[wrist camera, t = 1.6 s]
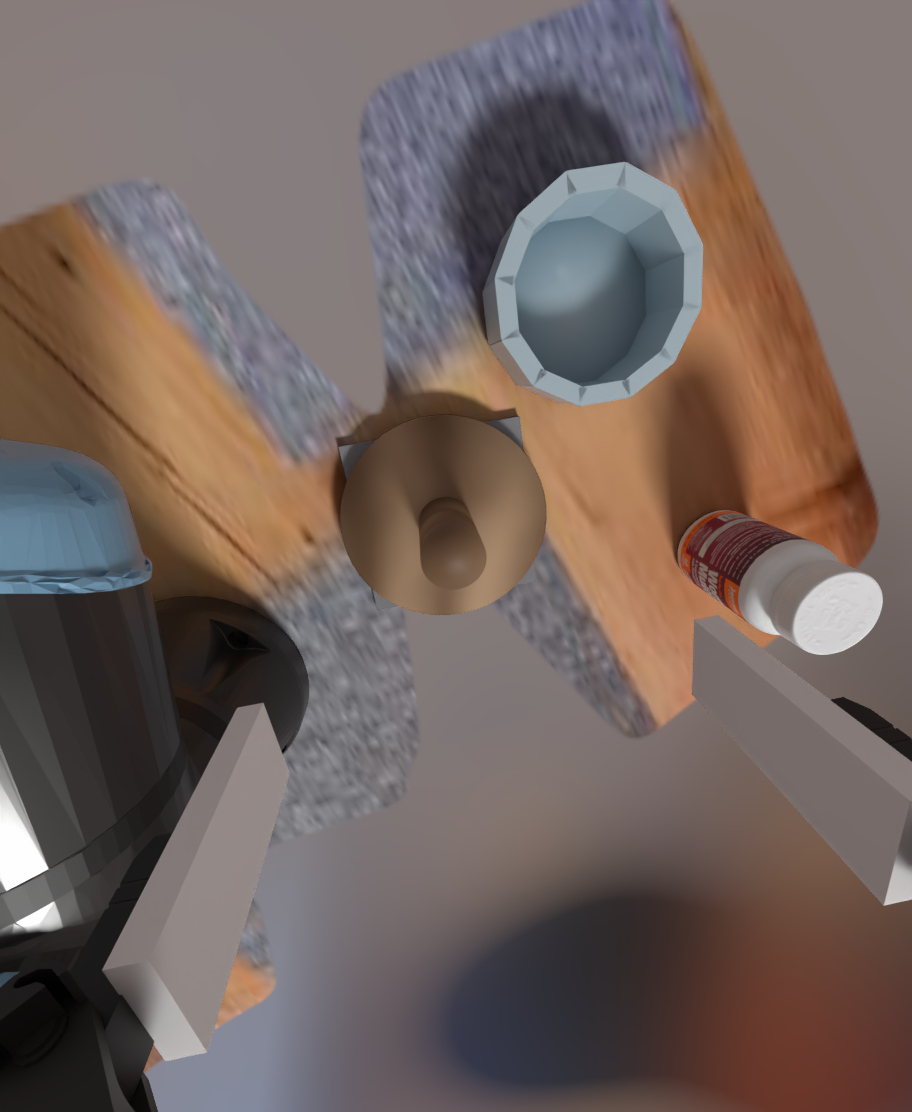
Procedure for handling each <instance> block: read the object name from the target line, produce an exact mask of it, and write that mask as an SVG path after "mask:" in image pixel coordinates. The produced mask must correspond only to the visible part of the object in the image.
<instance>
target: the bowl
mask: <svg viewBox="0 0 912 1112" xmlns="http://www.w3.org/2000/svg"><path fill="white" fill-rule="evenodd" d="M702 267H703V243H702V241H701V239H700V237H699V235H698V233H697V231H696V229H695V227H694V225H693V223H692V221H691V219H690V217H689V215H688V213H687V211H686V209H685V207H684V205H683V203H682V201H681V199H680V197H679V195H678V193H677V191H676V190H675V189H673V188H672V187H670V186H668V185H666V184H665V183H663V182H661V181H659V180H657V179H656V178H654V177H652V176H650V175H648V174H647V173H645V172H643V171H641V170H640V169H638V168H636V167H634V166H632V165H631V164H629V163H627V162H620V163H613V164H607V165H600V166H594V167H587V168H581V169H574V170H568V171H565V172H564V173H563V174H562V175H561V176H560V177H559V178H558V179H556V180H555V181H554V182H553V183H552V184H551V185H550V186H549V187H548V188H547V189H545V190H544V191H543V192H542V193H541V194H540V195H539V196H538V197H537V198H535V199H534V200H533V201H532V202H531V203H530V204H529V205H528V206H527V207H526V208H524V209H523V210H522V211H521V212H520V213H519V214H518V215H517V217H516V218H515V220H514V221H513V223H512V224H511V226H510V227H509V229H508V230H507V232H506V234H505V235H504V237H503V238H502V240H501V242H500V245H499V248H498V251H497V253H496V256H495V259H494V262H493V264H492V267H491V270H490V273H489V276H488V278H487V281H486V284H485V287H484V289H483V293H482V295H483V304H484V312H485V321H486V329H487V338H488V345H490V346H489V347H490V349H491V350H492V352H493V353H494V354H495V356H496V357H497V359H498V360H499V362H500V363H501V364H502V366H503V367H504V369H505V370H506V372H507V373H508V374H509V376H510V377H511V379H512V380H513V382H514V383H515V384H516V385H517V386H519V387H522V388H524V389H526V390H529V391H531V392H533V393H536V394H538V395H540V396H543V397H545V398H547V399H550V400H552V401H554V402H557V403H564V404H570V405H576V406H583V405H589V404H595V403H601V402H607V401H613V400H619V399H625V398H630V397H632V396H633V395H634V394H635V393H637V392H638V391H639V390H640V389H642V388H643V387H644V386H645V385H647V384H648V383H649V382H650V381H652V380H653V379H654V378H656V377H657V376H658V375H659V374H661V373H662V372H663V371H664V370H666V369H667V368H668V367H669V366H671V365H672V364H673V363H674V362H675V360H676V358H677V356H678V354H679V352H680V350H681V348H682V346H683V344H684V342H685V340H686V338H687V336H688V334H689V332H690V330H691V328H692V326H693V324H694V322H695V320H696V318H697V315H698V313H699V311H700V309H701V300H702Z"/></svg>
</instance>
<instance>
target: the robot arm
mask: <svg viewBox="0 0 912 1112" xmlns="http://www.w3.org/2000/svg"><path fill="white" fill-rule="evenodd" d="M151 577H152V563H151V561H150V560H149V558H148V557H147V556H146V555H144V554H143V552H142V549H141V545H140V542H139V538H138V535H137V532H136V528H135V525H134V521H133V518H132V514H131V511H130V507H129V504H128V500H127V497H126V494H125V492H124V490H123V487H122V485H121V484H120V482H119V481H118V480H117V478H116V477H115V476H114V475H113V474H112V473H111V471H109V470H108V469H107V468H106V467H104V466H103V465H102V464H100V463H99V462H97V461H95V460H93V459H91V458H90V457H88V456H86V455H83V454H80V453H78V452H75V451H72V450H68V449H64V448H60V447H55V446H50V445H43V444H36V443H29V442H21V441H12V440H4V439H0V1112H158V1110H157V1107H156V1104H155V1100H154V1096H153V1093H152V1090H151V1086H150V1083H149V1080H148V1078H147V1077H146V1075H145V1074H144V1073H143V1070H144V1068H145V1065H146V1062H147V1060H148V1057H149V1054H150V1052H151V1049H152V1047H153V1044H154V1046H155V1047H156V1048H157V1050H158V1051H159V1053H160V1054H161V1056H162V1057H163V1058H164V1060H165V1061H169V1060H173V1059H178V1058H183V1057H188V1056H192V1055H196V1054H202V1053H206V1052H207V1051H208V1048H209V1044H210V1041H211V1038H212V1034H213V1031H214V1028H215V1024H216V1021H217V1017H218V1014H219V1011H220V1007H221V1004H222V1001H223V997H224V994H225V990H226V987H227V984H228V980H229V977H230V974H231V970H232V967H233V963H234V960H235V957H236V953H237V950H238V946H239V943H240V940H241V936H242V933H243V930H244V926H245V923H246V919H247V916H248V913H249V909H250V906H251V903H252V899H253V896H254V892H255V889H256V885H257V882H258V879H259V875H260V872H261V869H262V865H263V862H264V859H265V855H266V852H267V849H268V845H269V842H270V838H271V835H272V832H273V828H274V825H275V822H276V818H277V815H278V811H279V808H280V805H281V801H282V798H283V795H284V791H285V788H286V784H287V781H288V778H289V774H290V773H289V770H288V768H287V765H286V762H285V760H284V757H283V754H284V753H285V752H286V751H287V749H288V748H289V747H290V745H291V744H292V742H293V741H294V739H295V737H296V735H297V733H298V731H299V729H300V726H301V723H302V720H303V717H304V714H305V711H306V708H307V704H308V699H309V680H308V674H307V671H306V667H305V665H304V662H303V660H302V658H301V656H300V654H299V652H298V650H297V649H296V647H295V646H294V644H293V643H292V642H291V640H290V639H289V638H288V637H287V636H286V635H285V634H284V633H283V632H282V631H281V630H280V629H279V628H278V627H277V626H276V625H274V624H273V623H272V622H270V621H269V620H268V619H266V618H265V617H263V616H261V615H260V614H258V613H256V612H254V611H252V610H250V609H248V608H246V607H243V606H241V605H238V604H235V603H232V602H229V601H225V600H220V599H215V598H207V597H179V598H172V599H168V600H163V601H160V602H156V603H154V599H153V595H152V590H151V586H150V581H149V579H150V578H151ZM692 695H693V696H694V697H695V698H696V699H697V700H698V701H699V702H700V703H701V704H702V706H703V707H704V708H705V709H706V710H707V711H708V712H709V713H710V714H711V715H712V716H713V718H714V719H715V720H716V721H717V722H718V723H719V724H720V725H721V726H722V728H723V729H724V730H725V731H726V732H727V733H728V734H729V735H730V736H731V738H732V739H733V740H734V741H735V742H736V743H737V744H738V745H739V746H740V747H741V749H742V750H743V751H744V752H745V753H746V754H747V755H748V756H749V757H750V759H751V760H752V761H753V762H754V763H755V764H756V765H757V766H758V767H759V768H760V769H761V771H762V772H763V773H764V774H765V775H766V776H767V777H768V778H769V779H770V780H771V782H772V783H773V784H774V785H775V786H776V787H777V788H778V789H779V790H780V792H781V793H782V794H783V795H784V796H785V797H786V798H787V799H788V800H789V802H790V803H791V804H792V805H793V806H794V807H795V808H796V809H797V810H798V811H799V813H801V815H802V816H803V817H804V818H805V819H806V820H807V821H808V822H809V824H810V825H811V826H812V827H813V828H814V829H815V830H816V831H817V832H818V833H819V835H820V836H821V837H822V838H823V839H824V840H825V841H826V842H827V843H828V845H829V846H830V847H831V848H832V849H833V850H834V851H835V852H836V853H837V854H838V855H839V857H840V858H841V859H842V860H843V861H844V862H845V863H846V864H847V865H848V866H849V868H850V869H851V870H852V871H853V872H854V873H855V874H856V875H857V876H858V877H859V879H860V880H861V881H862V882H863V883H864V884H865V885H866V886H867V888H868V889H869V890H870V891H871V892H872V893H873V894H874V895H875V896H876V897H877V898H878V900H879V901H880V902H881V903H882V904H883V905H888V904H893V903H897V902H901V901H907V900H911V899H912V739H911V738H910V737H909V736H907V735H906V734H905V733H903V732H902V731H900V730H899V729H898V728H896V729H895V728H894V727H893V725H892V724H891V723H889V722H888V721H886V720H885V719H884V718H882V717H881V716H879V715H878V714H877V713H875V712H874V711H872V710H871V709H869V708H866V707H864V706H862V705H860V704H858V703H855V702H853V701H851V700H848V699H846V698H844V697H842V698H837V699H832V700H829V699H828V698H826V697H825V696H824V695H823V694H821V693H820V692H819V691H818V690H816V689H815V688H813V687H812V686H811V685H810V684H808V683H807V682H806V681H804V680H803V679H802V678H800V677H799V676H798V675H796V674H795V673H794V672H792V671H791V670H790V669H789V668H787V667H786V666H785V665H783V664H782V663H780V662H779V661H778V660H777V659H775V658H774V657H773V656H771V655H770V654H769V653H767V652H766V651H765V650H763V649H762V648H761V647H759V646H758V645H757V644H756V643H754V642H753V641H752V640H750V639H749V638H748V637H746V636H745V635H744V634H742V633H741V632H740V631H738V630H737V629H736V628H734V627H733V626H732V625H730V624H729V623H728V622H726V621H725V620H724V619H722V618H721V617H720V616H719V615H718V616H713V617H708V618H702V619H697V620H694V643H693V680H692Z"/></svg>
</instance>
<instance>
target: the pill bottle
mask: <svg viewBox="0 0 912 1112" xmlns="http://www.w3.org/2000/svg"><path fill="white" fill-rule="evenodd" d="M678 563H679V566H680V569H681V571H682V573H683V574H684V575H685V576H686V578H687V579H689V580H690V581H691V582H693V583H694V584H695V585H697V586H698V587H699V588H701V589H702V590H704V591H705V592H706V593H708V594H709V595H711V596H712V597H713V598H715V599H716V600H718V601H719V602H721V603H722V604H724V605H725V606H726V607H728V608H729V609H731V610H732V611H733V612H734V613H736V614H737V615H739V616H740V617H741V618H743V619H744V620H745V621H747V622H748V623H749V624H751V625H753V626H754V627H756V628H757V629H759V630H761V631H763V632H766V633H769V634H774V635H782V636H783V637H785V638H786V639H788V640H789V641H791V642H793V643H794V644H796V645H797V646H799V647H800V648H802V649H803V650H805V651H807V652H810V653H813V654H819V655H826V654H833V653H837V652H840V651H843V650H845V649H847V648H849V647H851V646H853V645H854V644H856V643H857V642H859V641H860V640H861V639H862V638H863V637H864V636H866V635H867V634H868V633H869V631H870V630H871V629H872V628H873V626H874V625H875V623H876V621H877V620H878V617H879V615H880V612H881V609H882V602H883V598H882V592H881V589H880V587H879V585H878V584H877V582H876V581H875V580H874V579H873V578H872V577H871V576H869V575H867V574H865V573H863V572H861V571H859V570H857V569H854V568H852V567H850V566H848V565H846V564H843V563H841V562H839V561H838V559H837V557H836V556H835V555H834V554H833V553H832V552H831V551H830V550H828V549H827V548H825V547H823V546H821V545H819V544H817V543H815V542H813V541H810V540H807V539H804V538H801V537H799V536H796V535H794V534H791V533H789V532H786V531H784V530H781V529H779V528H776V527H774V526H771V525H769V524H766V523H764V522H762V521H759V520H757V519H755V518H752V517H750V516H747V515H745V514H742V513H739V512H736V511H731V510H719V511H715V512H711V513H709V514H706V515H704V516H703V517H701V518H699V519H698V520H697V521H695V522H694V523H693V524H692V525H691V526H690V527H689V528H688V529H687V531H686V532H685V533H684V535H683V537H682V539H681V540H680V543H679V547H678Z"/></svg>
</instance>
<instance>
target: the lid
mask: <svg viewBox="0 0 912 1112" xmlns="http://www.w3.org/2000/svg"><path fill="white" fill-rule="evenodd" d="M340 523H341V532H342V538H343V542H344V545H345V548H346V551H347V554H348V556H349V558H350V560H351V562H352V564H353V566H354V567H355V569H356V570H357V572H358V573H359V575H360V576H361V577H362V578H363V580H364V581H365V582H366V583H367V584H368V585H369V586H370V587H371V588H372V589H373V590H374V591H375V592H377V593H378V594H379V595H381V596H382V597H384V598H385V599H387V600H388V601H390V602H392V603H394V604H396V605H398V606H400V607H402V608H405V609H408V610H411V611H415V612H419V613H423V614H431V615H451V614H460V613H465V612H469V611H472V610H475V609H478V608H481V607H484V606H486V605H488V604H490V603H492V602H494V601H496V600H497V599H499V598H500V597H502V596H503V595H505V594H506V593H507V592H509V591H510V590H511V589H512V588H513V587H514V586H516V584H517V583H518V582H519V581H520V580H521V579H522V578H523V577H524V576H525V574H526V573H527V571H528V570H529V569H530V567H531V566H532V564H533V562H534V560H535V558H536V557H537V555H538V552H539V550H540V547H541V544H542V541H543V537H544V533H545V526H546V501H545V495H544V490H543V487H542V484H541V480H540V478H539V476H538V474H537V472H536V469H535V467H534V466H533V464H532V463H531V461H530V460H529V458H528V456H527V455H526V454H525V453H524V452H523V451H522V449H521V448H520V447H519V446H518V445H517V444H516V443H515V442H513V441H512V440H511V439H510V438H509V437H508V436H506V435H505V434H503V433H502V432H500V431H499V430H497V429H495V428H494V427H491V426H489V425H487V424H485V423H483V422H481V421H478V420H475V419H471V418H468V417H462V416H457V415H432V416H425V417H421V418H416V419H413V420H410V421H407V422H405V423H402V424H400V425H398V426H396V427H394V428H393V429H391V430H389V431H387V432H386V433H385V434H383V435H382V436H381V437H379V438H378V439H377V440H376V441H375V442H374V443H373V444H371V445H370V446H369V447H368V448H367V449H366V451H365V452H364V453H363V455H362V456H361V457H360V459H359V460H358V461H357V463H356V465H355V466H354V468H353V470H352V472H351V474H350V475H349V478H348V480H347V483H346V486H345V488H344V492H343V497H342V501H341V511H340Z"/></svg>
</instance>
